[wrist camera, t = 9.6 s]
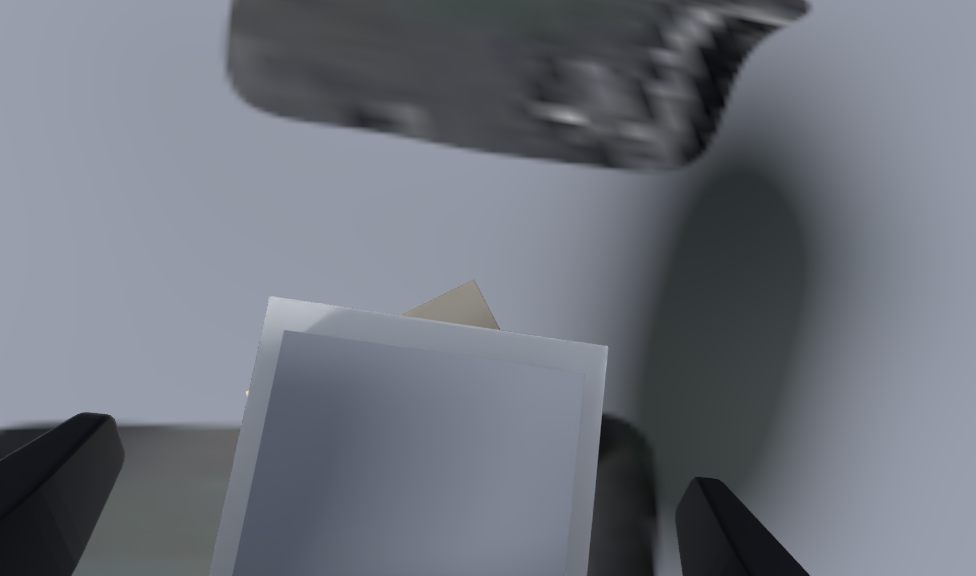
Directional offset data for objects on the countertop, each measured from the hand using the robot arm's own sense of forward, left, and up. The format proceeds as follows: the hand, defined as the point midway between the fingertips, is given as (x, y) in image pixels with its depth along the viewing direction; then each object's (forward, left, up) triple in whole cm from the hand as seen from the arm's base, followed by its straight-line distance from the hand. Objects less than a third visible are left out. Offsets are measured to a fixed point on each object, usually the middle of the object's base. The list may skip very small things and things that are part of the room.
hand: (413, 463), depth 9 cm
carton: (0, 0, -9) cm, 9 cm away
